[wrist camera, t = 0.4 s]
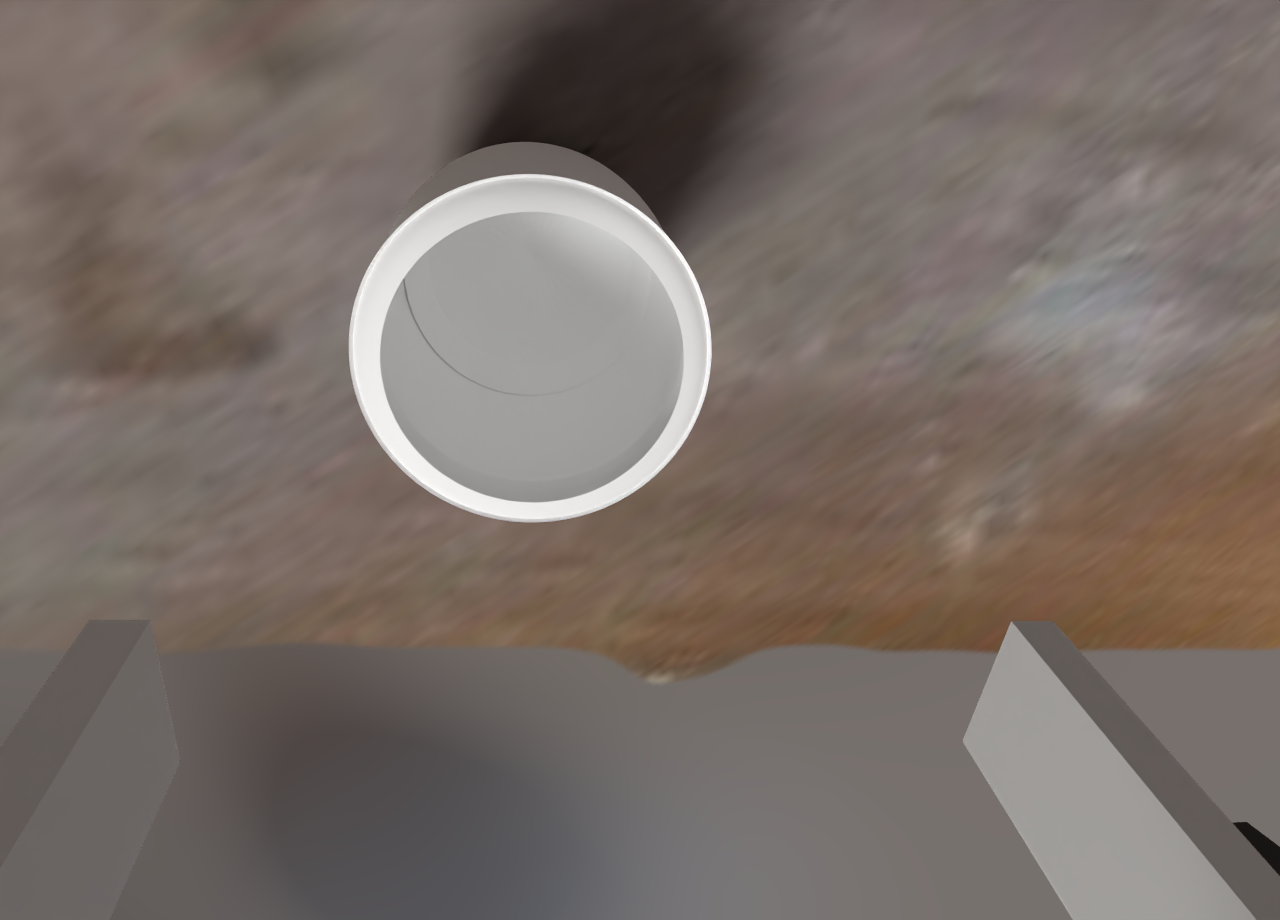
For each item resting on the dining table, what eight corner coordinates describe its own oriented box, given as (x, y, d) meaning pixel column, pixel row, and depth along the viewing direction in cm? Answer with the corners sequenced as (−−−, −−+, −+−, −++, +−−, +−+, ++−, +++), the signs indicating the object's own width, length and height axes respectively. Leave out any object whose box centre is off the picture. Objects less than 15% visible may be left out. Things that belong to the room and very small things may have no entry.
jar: (397, 112, 33) (319, 169, 20) (648, 120, 35) (730, 179, 21) (419, 358, 38) (368, 534, 25) (638, 356, 39) (699, 521, 26)
